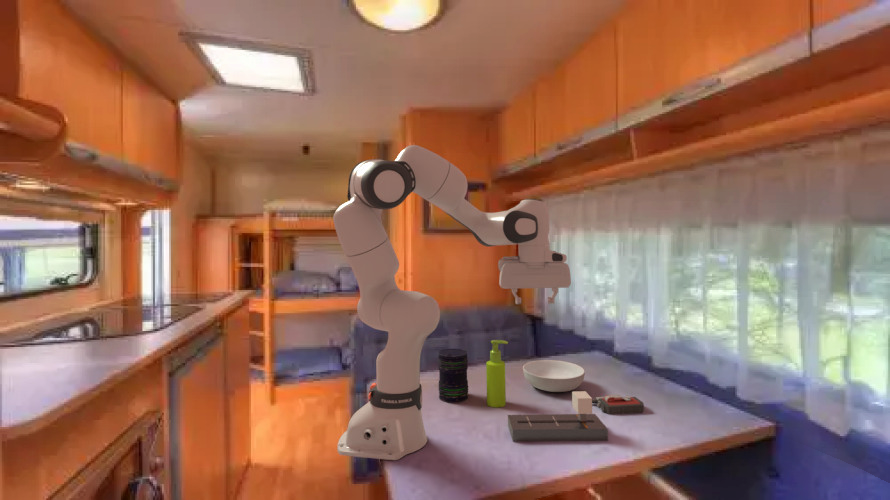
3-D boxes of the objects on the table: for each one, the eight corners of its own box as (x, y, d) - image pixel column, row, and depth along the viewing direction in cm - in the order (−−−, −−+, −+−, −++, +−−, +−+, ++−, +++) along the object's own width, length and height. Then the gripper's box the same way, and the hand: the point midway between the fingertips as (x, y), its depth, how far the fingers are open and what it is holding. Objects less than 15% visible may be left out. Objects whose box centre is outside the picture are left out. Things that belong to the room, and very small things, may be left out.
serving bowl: (523, 397, 132) (523, 376, 132) (523, 377, 152) (522, 359, 152) (589, 400, 128) (589, 379, 128) (580, 379, 148) (579, 360, 148)
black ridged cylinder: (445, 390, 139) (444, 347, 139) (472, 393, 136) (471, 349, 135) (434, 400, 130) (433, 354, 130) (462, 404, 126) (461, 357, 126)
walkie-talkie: (633, 402, 126) (571, 405, 125) (633, 388, 126) (571, 391, 125) (649, 414, 118) (582, 417, 116) (649, 399, 118) (582, 402, 116)
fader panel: (512, 441, 102) (512, 429, 102) (507, 425, 111) (507, 414, 111) (607, 440, 101) (607, 428, 101) (595, 424, 110) (594, 413, 110)
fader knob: (578, 424, 104) (577, 398, 103) (572, 416, 109) (572, 391, 108) (592, 424, 103) (591, 398, 103) (585, 416, 108) (585, 391, 108)
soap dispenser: (508, 408, 123) (507, 343, 123) (486, 406, 124) (485, 342, 124) (509, 401, 129) (508, 338, 128) (487, 399, 130) (486, 338, 130)
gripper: (499, 256, 113) (500, 305, 113) (572, 255, 113) (573, 304, 113) (496, 256, 119) (497, 302, 119) (565, 255, 119) (566, 301, 119)
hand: (534, 303), depth 116 cm, fingers open, 8 cm apart
